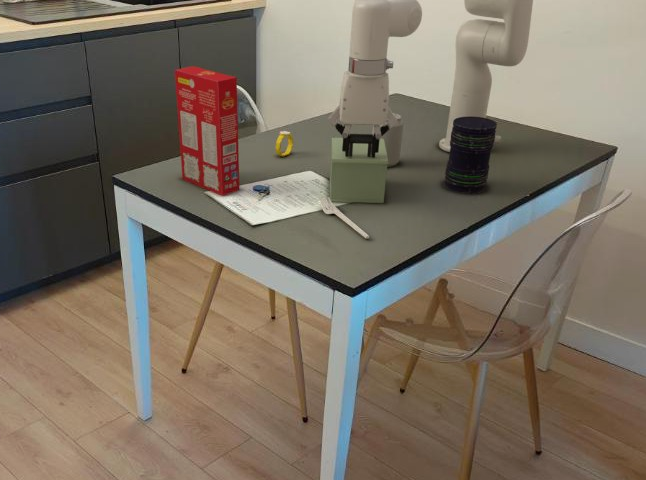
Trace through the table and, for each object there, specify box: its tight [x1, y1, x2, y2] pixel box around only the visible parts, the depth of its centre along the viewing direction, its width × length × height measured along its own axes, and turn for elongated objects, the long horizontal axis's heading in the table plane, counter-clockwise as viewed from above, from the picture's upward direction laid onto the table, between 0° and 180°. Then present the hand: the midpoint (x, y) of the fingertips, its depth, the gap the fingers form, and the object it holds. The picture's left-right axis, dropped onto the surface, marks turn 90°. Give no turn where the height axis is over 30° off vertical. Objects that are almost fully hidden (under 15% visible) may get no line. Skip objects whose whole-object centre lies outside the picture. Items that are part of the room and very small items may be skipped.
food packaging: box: [174, 65, 240, 196], centre depth 159 cm, size 15×5×25 cm, turn 44°
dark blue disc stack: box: [443, 117, 498, 195], centre depth 162 cm, size 10×10×15 cm
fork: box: [318, 196, 370, 239], centre depth 148 cm, size 3×20×2 cm, turn 24°
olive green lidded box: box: [329, 144, 388, 204], centre depth 161 cm, size 14×12×9 cm
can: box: [371, 112, 404, 168], centre depth 176 cm, size 8×8×12 cm
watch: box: [275, 130, 294, 157], centre depth 183 cm, size 6×3×6 cm, turn 144°
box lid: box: [331, 133, 388, 164], centre depth 156 cm, size 15×12×6 cm
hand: (359, 154), depth 153 cm, fingers closed on box lid, 5 cm apart
